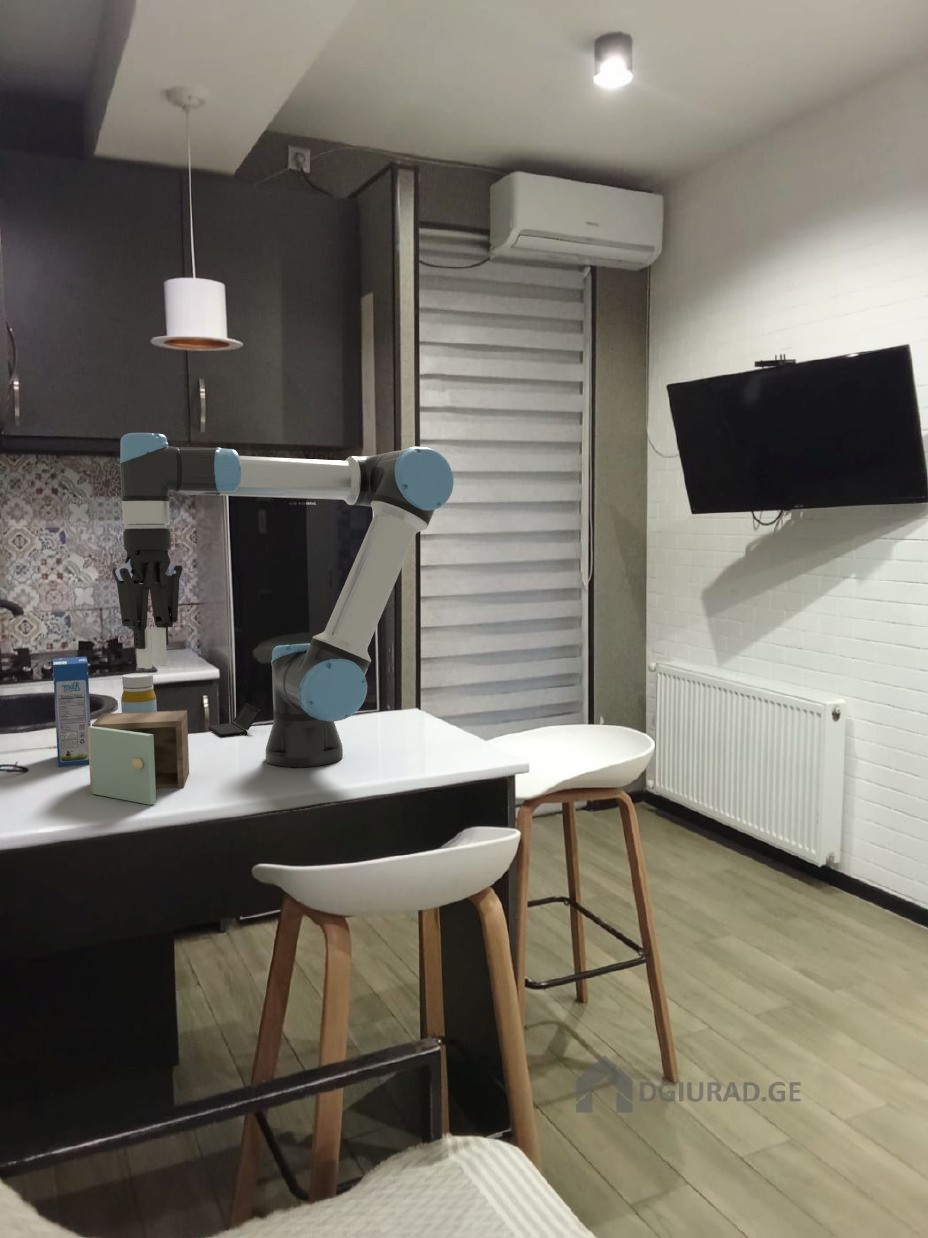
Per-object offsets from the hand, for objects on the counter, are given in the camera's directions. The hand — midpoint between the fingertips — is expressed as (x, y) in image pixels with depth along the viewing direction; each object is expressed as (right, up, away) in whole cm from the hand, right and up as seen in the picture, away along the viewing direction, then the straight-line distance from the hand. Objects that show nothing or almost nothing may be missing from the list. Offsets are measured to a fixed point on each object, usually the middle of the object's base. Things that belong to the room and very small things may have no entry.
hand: (152, 666), depth 162 cm
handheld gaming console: (+1, -18, +55) cm, 58 cm away
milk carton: (-25, -20, +29) cm, 43 cm away
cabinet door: (-6, -22, 0) cm, 23 cm away
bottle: (-16, -19, +41) cm, 48 cm away
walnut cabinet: (-5, -22, +11) cm, 25 cm away
